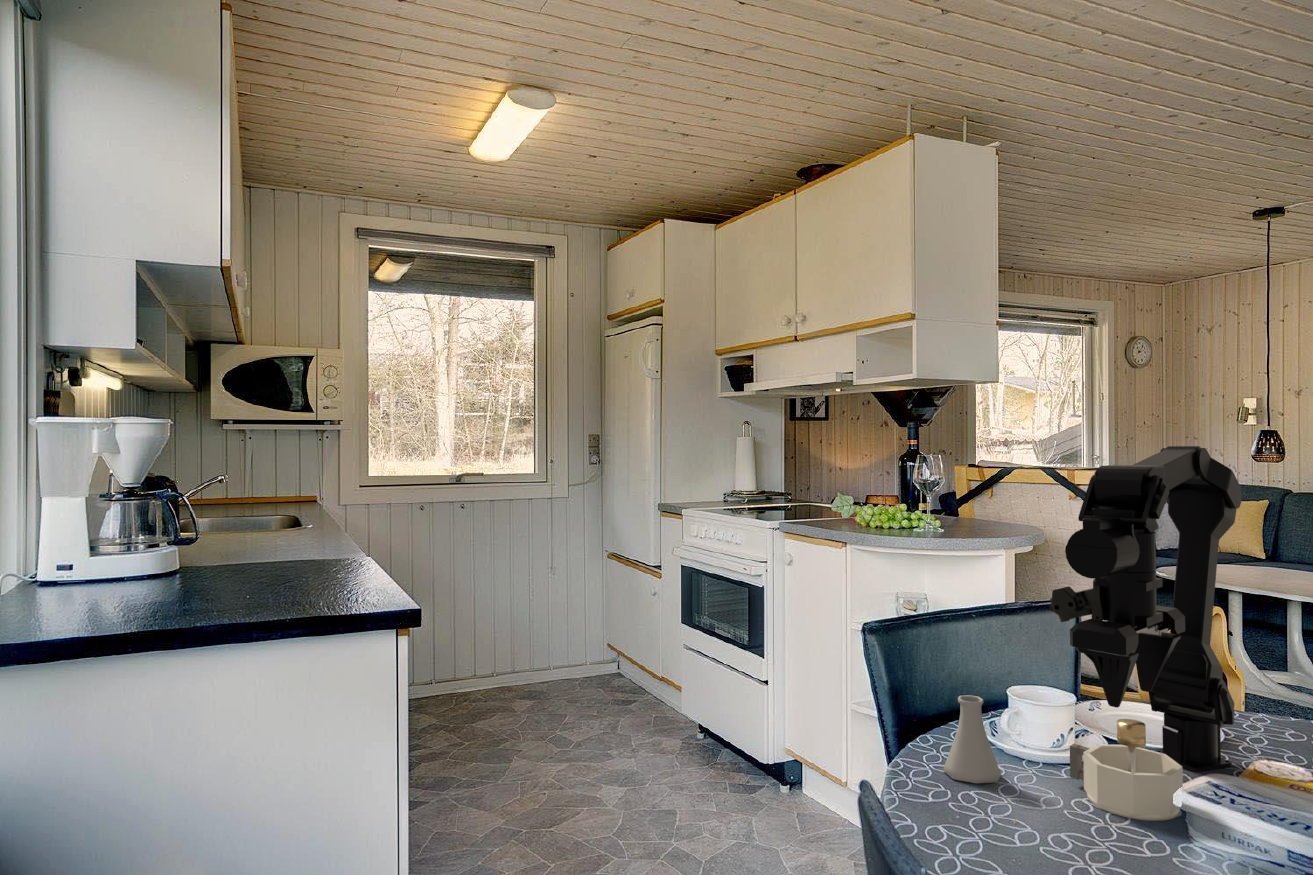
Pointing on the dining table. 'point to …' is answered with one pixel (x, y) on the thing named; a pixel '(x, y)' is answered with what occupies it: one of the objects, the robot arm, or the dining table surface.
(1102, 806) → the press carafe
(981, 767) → the flask
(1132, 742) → the plunger
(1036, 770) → the dining table surface
